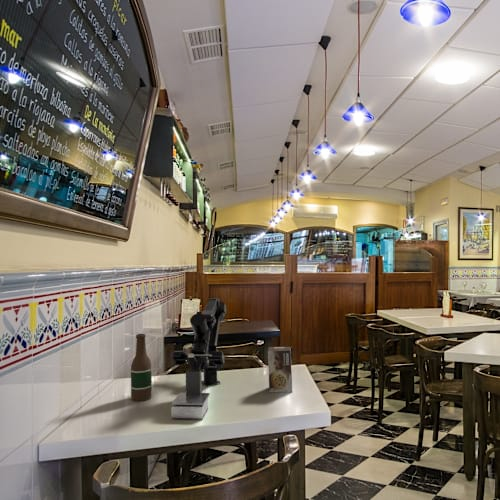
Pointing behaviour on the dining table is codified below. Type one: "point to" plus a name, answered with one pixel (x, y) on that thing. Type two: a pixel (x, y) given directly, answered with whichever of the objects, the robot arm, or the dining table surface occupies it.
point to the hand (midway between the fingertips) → (194, 379)
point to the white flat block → (189, 411)
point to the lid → (192, 390)
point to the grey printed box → (280, 369)
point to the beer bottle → (141, 372)
